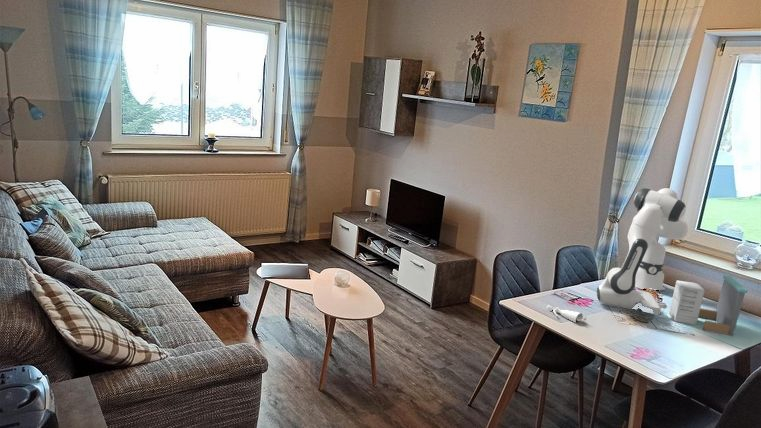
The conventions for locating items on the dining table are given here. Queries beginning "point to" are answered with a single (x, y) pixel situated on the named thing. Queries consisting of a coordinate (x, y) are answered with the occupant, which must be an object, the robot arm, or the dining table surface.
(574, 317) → the woman figurine
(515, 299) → the dining table surface
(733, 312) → the display stand
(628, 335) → the dining table surface
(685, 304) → the supplement box
